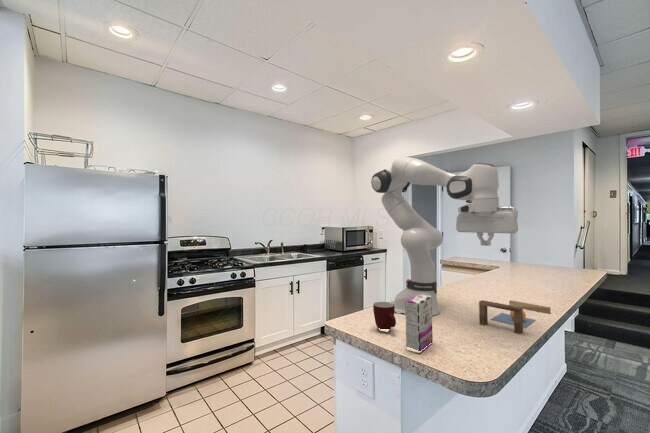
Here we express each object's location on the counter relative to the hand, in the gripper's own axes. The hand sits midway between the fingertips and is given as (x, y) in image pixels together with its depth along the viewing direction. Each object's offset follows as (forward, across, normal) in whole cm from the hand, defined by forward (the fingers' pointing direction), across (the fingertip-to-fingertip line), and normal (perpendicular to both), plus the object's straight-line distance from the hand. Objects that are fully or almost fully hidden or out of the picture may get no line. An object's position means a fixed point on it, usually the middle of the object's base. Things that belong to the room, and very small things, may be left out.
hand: (485, 245), depth 109 cm
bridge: (+33, 0, -13) cm, 36 cm away
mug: (+33, +28, +22) cm, 49 cm away
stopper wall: (+33, 0, -49) cm, 59 cm away
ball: (+30, -2, -27) cm, 41 cm away
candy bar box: (+33, +12, +26) cm, 44 cm away
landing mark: (+33, 0, -27) cm, 43 cm away
